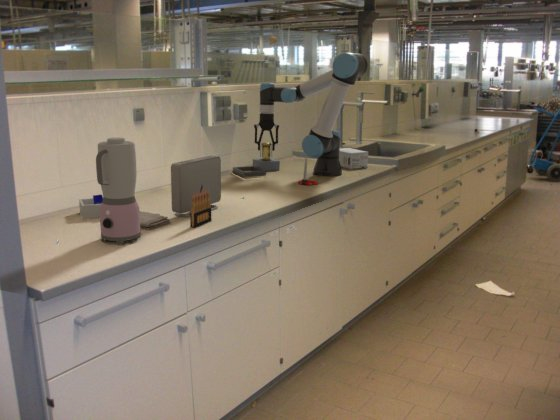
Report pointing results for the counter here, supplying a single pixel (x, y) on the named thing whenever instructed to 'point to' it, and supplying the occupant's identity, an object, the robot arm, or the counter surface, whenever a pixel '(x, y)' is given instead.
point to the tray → (241, 170)
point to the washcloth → (152, 220)
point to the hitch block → (267, 164)
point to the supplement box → (353, 158)
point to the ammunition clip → (200, 209)
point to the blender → (118, 190)
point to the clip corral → (89, 208)
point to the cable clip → (97, 199)
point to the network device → (195, 182)
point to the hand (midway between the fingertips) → (266, 156)
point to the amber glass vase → (265, 151)
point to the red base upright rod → (304, 181)
